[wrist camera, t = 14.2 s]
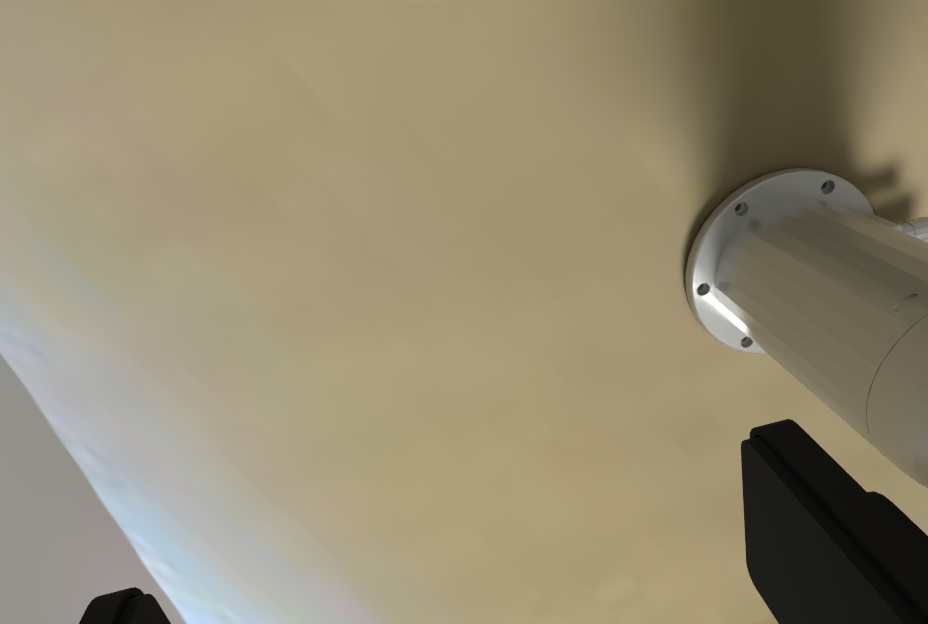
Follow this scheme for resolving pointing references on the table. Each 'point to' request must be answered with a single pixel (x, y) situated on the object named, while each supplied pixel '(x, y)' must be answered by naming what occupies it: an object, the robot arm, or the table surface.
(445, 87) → the table surface
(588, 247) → the table surface
